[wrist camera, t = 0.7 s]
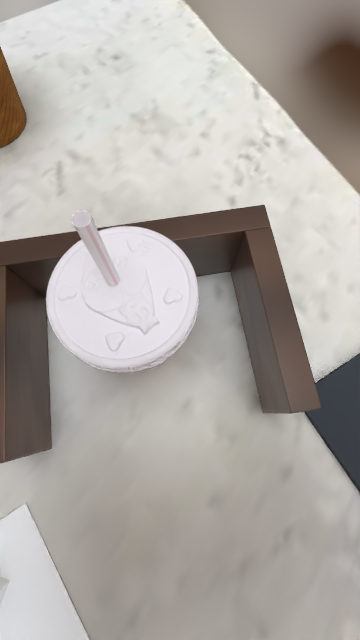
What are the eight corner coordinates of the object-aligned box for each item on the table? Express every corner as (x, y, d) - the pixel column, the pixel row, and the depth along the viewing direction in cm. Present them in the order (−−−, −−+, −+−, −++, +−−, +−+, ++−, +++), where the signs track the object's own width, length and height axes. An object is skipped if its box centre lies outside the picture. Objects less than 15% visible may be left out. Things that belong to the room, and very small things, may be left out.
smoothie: (154, 283, 23) (117, 107, 10) (210, 348, 22) (258, 244, 8) (84, 337, 22) (-68, 219, 9) (139, 408, 21) (60, 402, 7)
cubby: (286, 409, 20) (322, 408, 15) (27, 453, 20) (-29, 468, 15) (246, 249, 24) (264, 204, 19) (24, 282, 23) (-22, 244, 18)
